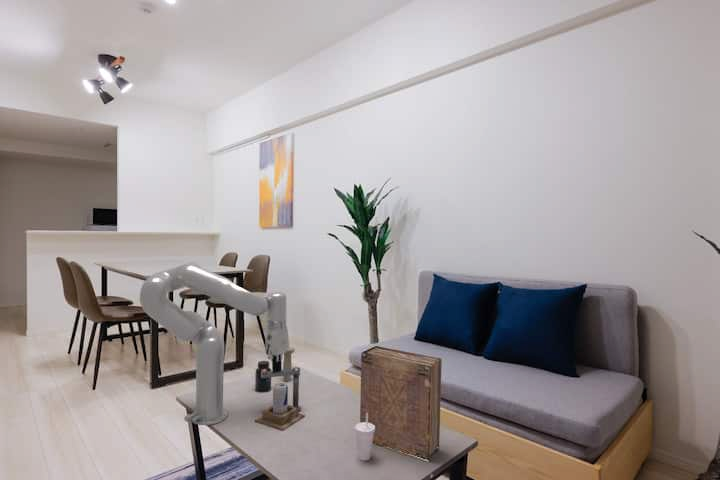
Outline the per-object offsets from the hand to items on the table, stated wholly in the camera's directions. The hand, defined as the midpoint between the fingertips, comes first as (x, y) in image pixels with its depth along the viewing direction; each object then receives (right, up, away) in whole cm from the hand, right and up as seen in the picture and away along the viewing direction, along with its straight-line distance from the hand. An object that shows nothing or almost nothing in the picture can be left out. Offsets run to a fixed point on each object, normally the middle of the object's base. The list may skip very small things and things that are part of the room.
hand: (276, 370), depth 160 cm
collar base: (+4, -16, -6) cm, 17 cm away
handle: (-2, -15, +31) cm, 35 cm away
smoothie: (+34, -17, -32) cm, 50 cm away
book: (+46, -17, -23) cm, 54 cm away
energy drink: (+3, -15, -8) cm, 17 cm away
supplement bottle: (-10, -15, +20) cm, 27 cm away
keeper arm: (+2, -2, -2) cm, 3 cm away
